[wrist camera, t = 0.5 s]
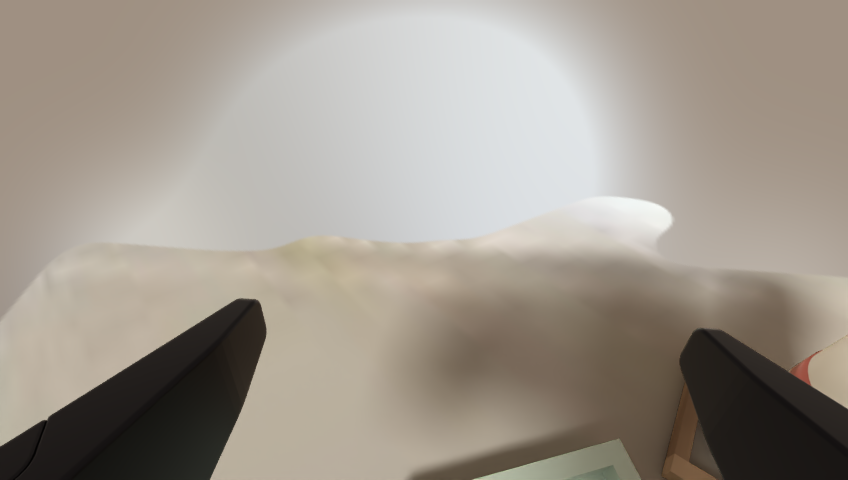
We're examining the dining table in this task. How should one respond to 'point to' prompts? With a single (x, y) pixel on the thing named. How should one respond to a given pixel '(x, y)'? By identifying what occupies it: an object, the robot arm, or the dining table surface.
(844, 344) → the ball
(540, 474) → the tray
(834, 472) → the robot arm
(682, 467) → the wooden fuse rack
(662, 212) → the dining table surface
